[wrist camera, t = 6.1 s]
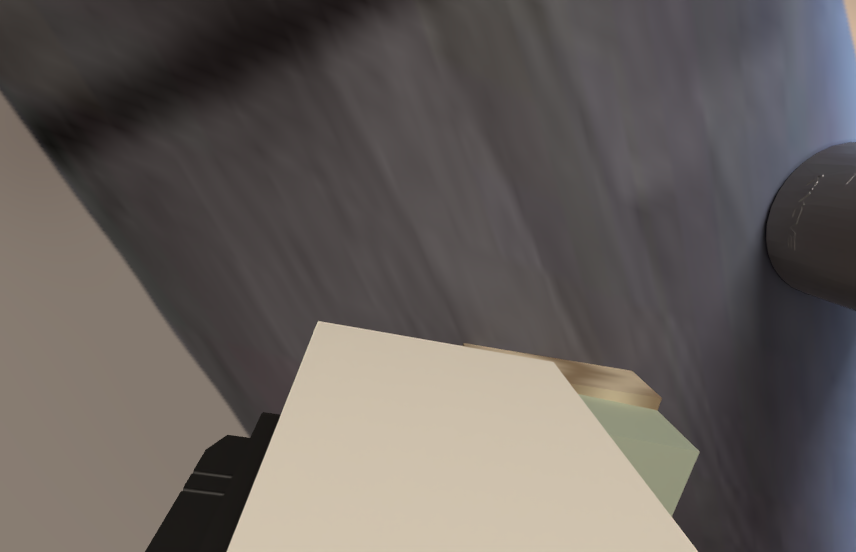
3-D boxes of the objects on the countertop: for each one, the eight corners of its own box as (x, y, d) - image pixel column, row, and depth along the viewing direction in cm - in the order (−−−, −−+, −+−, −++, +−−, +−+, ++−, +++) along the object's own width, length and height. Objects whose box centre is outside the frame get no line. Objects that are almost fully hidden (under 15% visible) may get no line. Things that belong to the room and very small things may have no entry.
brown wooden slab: (628, 367, 32) (661, 398, 28) (565, 560, 36) (588, 610, 32) (462, 340, 31) (473, 368, 27) (414, 543, 34) (417, 594, 30)
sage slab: (656, 410, 28) (699, 451, 25) (578, 606, 32) (605, 670, 28) (489, 375, 27) (507, 414, 23) (425, 585, 30) (431, 649, 26)
